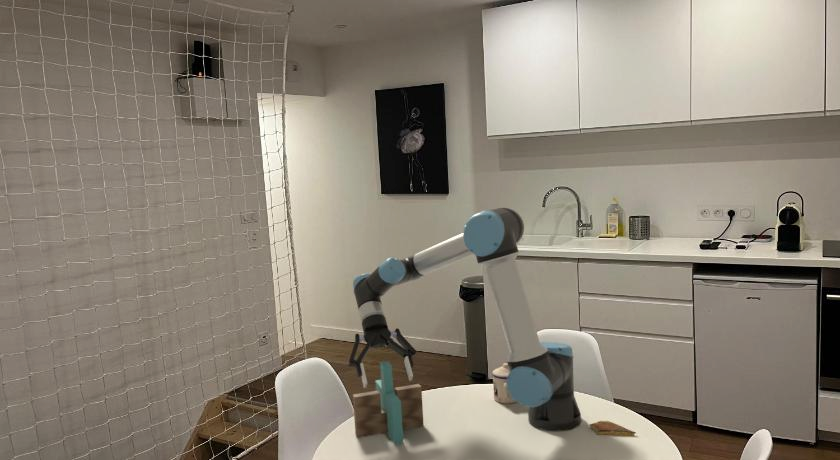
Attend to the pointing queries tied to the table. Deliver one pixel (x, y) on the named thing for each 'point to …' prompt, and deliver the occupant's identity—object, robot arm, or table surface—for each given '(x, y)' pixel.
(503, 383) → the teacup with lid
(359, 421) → the walnut slotted plate
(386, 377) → the teal slotted plate
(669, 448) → the table surface
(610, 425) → the pie slice
